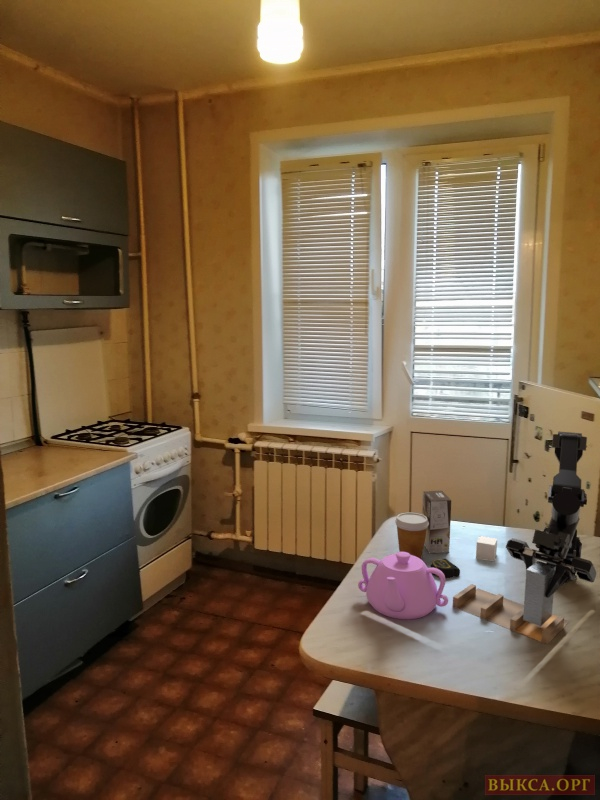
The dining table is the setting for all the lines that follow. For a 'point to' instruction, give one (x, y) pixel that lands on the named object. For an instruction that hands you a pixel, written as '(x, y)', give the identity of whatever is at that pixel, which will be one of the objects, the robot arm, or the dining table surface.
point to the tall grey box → (538, 593)
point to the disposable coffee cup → (411, 533)
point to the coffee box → (437, 521)
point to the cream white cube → (486, 548)
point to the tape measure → (445, 568)
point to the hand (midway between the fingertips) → (536, 593)
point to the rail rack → (506, 613)
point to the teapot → (402, 586)
